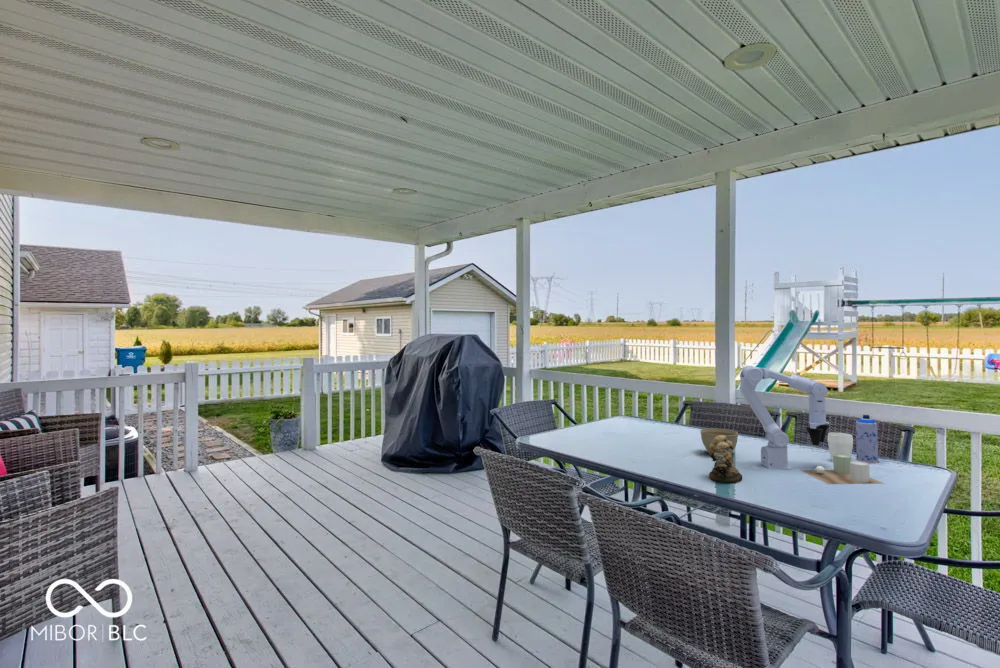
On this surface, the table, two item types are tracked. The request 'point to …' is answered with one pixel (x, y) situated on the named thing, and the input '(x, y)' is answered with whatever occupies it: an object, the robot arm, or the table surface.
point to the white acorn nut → (859, 471)
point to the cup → (840, 443)
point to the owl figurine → (723, 461)
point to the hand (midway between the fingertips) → (818, 443)
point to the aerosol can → (867, 440)
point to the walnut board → (836, 477)
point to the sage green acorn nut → (842, 463)
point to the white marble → (820, 469)
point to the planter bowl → (711, 433)
